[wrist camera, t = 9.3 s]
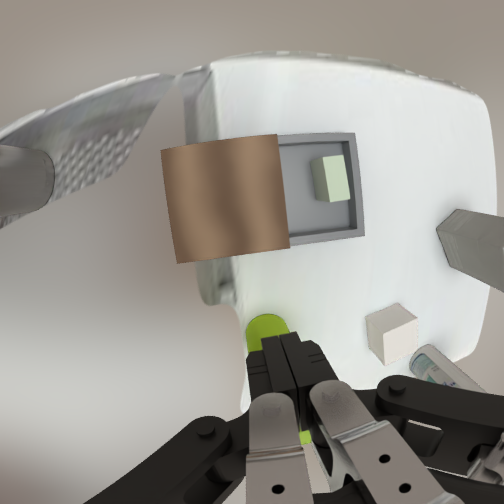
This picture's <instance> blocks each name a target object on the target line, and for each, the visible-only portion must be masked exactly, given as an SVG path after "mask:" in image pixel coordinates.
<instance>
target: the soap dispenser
mask: <svg viewBox="0 0 504 504" xmlns="http://www.w3.org/2000/svg"><path fill="white" fill-rule="evenodd" d="M286 333H290V332H289V330H288V328H287V325H286V323H285V322H284V320H283V319H281V318H280V317H278V316H276V315H273V314H264V315H260V316H258V317H256V318H254V319H253V320H252V321H251V322H250V323H249V325H248V327H247V330H246V339H247V347H248V354H249V353H250V352H252V351H258V350H262V345H261V338H265V337H270V336H276V335H278V337H279V335H280V334H286ZM299 427H300V425H299ZM299 436H300V441H301V445H304V444H308V443H311V435H310V432H309V430H307V431H303V432H302V431H301V428H300V432H299Z"/></svg>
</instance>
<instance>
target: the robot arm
mask: <svg viewBox="0 0 504 504" xmlns="http://www.w3.org/2000/svg"><path fill="white" fill-rule="evenodd" d="M53 186H54V168H53V164H52V161H51V159H50V158H49V156H48V155H47V154H46V153H45V152H43V151H40V150H34V149H27V148H21V147H14V146H6V145H0V217H5V216H10V215H15V214H21V213H26V212H32V211H36V210H39V209H40V208H42V207H43V206H44V205H45V204H46V202H47V201H48V199H49V197H50V195H51V193H52V189H53ZM261 345H262V350H258V351H252V352H250V353H249V355H248V357H247V358H246V364H247V372H248V380H249V388H250V395H251V404H250V407H249V409H248V410H247V411H246V412H245V413H244V414H243V415H242V416H240V417H238V418H236V419H234V420H231V421H228V422H226V421H224V420H223V419H221V418H219V417H215V416H204V417H200V418H197V419H195V420H193V421H192V422H190V423H189V424H188V425H187V426H186V427H184V428H183V429H182V430H181V431H180V432H179V433H177V434H176V435H175V436H174V437H173V438H171V439H170V440H169V441H168V442H167V443H165V444H164V445H163V446H162V447H161V448H159V449H158V450H157V451H156V452H154V453H153V454H152V455H150V456H149V457H148V458H147V459H145V460H144V461H143V462H141V463H140V464H139V465H138V466H136V467H135V468H134V469H132V470H131V471H130V472H128V473H127V474H126V475H124V476H123V477H121V478H120V479H119V480H117V481H116V482H115V483H113V484H112V485H110V486H109V487H107V488H106V489H105V490H103V491H102V492H100V493H99V494H97V495H96V496H94V497H93V498H91V499H90V500H88V501H87V502H85V503H84V504H222V503H223V501H225V500H226V498H227V497H228V496H229V495H230V494H231V493H232V492H233V491H234V489H236V487H237V486H238V485H239V484H240V483H241V482H242V480H243V478H244V476H246V504H504V396H500V395H494V394H488V393H482V392H477V391H471V390H466V389H461V388H456V387H451V386H446V385H442V384H437V383H433V382H428V381H424V380H420V379H416V378H412V377H408V376H403V375H392V376H388V377H386V378H384V379H383V380H381V381H380V382H379V384H378V386H377V389H370V390H354V389H352V388H351V387H350V386H349V385H348V384H347V383H345V382H343V381H339V379H338V378H337V376H336V374H335V372H334V371H333V369H332V367H331V365H330V364H329V362H328V360H327V359H326V357H325V355H324V354H323V352H322V350H321V348H320V346H319V345H318V344H316V343H314V342H313V341H311V340H309V341H304V342H301V340H300V338H299V336H298V334H297V332H291V333H286V334H280V335H279V337H278V335H276V336H270V337H265V338H261ZM409 420H413V421H417V422H420V423H424V424H428V425H432V426H435V427H439V428H441V429H442V430H436V429H432V428H428V427H424V426H420V425H417V424H413V423H410V422H408V421H409ZM299 425H300V427H299ZM300 428H301V431H302V432H303V431H307V430H309V432H310V435H311V446H312V448H313V450H314V453H315V455H316V457H317V459H318V461H319V464H320V466H321V468H322V470H323V472H324V474H325V476H326V479H327V481H328V483H329V487H330V493H316V494H312V491H311V485H310V480H309V475H308V470H307V464H306V459H305V454H304V450H303V448H302V447H301V441H300V436H299V432H300ZM425 466H428V467H431V468H435V469H439V470H443V471H447V472H451V473H456V474H460V475H465V476H467V477H468V478H464V477H460V476H456V475H452V474H448V473H445V472H441V471H438V470H434V469H429V468H426V467H425Z"/></svg>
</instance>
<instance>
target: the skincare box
mask: <svg viewBox="0 0 504 504" xmlns="http://www.w3.org/2000/svg"><path fill="white" fill-rule="evenodd" d="M436 230H437V233H438V235H439V237H440V240H441V243H442V245H443V248H444V250H445V253H446V256H447V258H448V261H449V264H450V267H452V268H454V269H457V270H459V271H461V272H463V273H465V274H467V275H469V276H472V277H474V278H476V279H478V280H480V281H482V282H484V283H486V284H488V285H490V286H492V287H494V288H496V289H498V290H500V291H502V292H504V217H499V216H494V215H489V214H484V213H478V212H472V211H466V210H460V209H457V210H456V211H455V212H453V213H452V214H451V215H450V216H449V217H448V218H447V219H446V220H445V221H444V222H443V223H442V224H441V225H439V226H438V227H437V228H436Z"/></svg>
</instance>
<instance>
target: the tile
mask: <svg viewBox="0 0 504 504" xmlns="http://www.w3.org/2000/svg"><path fill="white" fill-rule="evenodd" d="M310 164H311V170H312V175H313V181H314V187H315V193H316V199H317V200H318V201H325V202H335V201H341V200H347V199H350V193H349V186H348V180H347V174H346V168H345V162H344V156H343V155H338V156H329V157H322V158H319V159H316V160H313V161H310Z"/></svg>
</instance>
